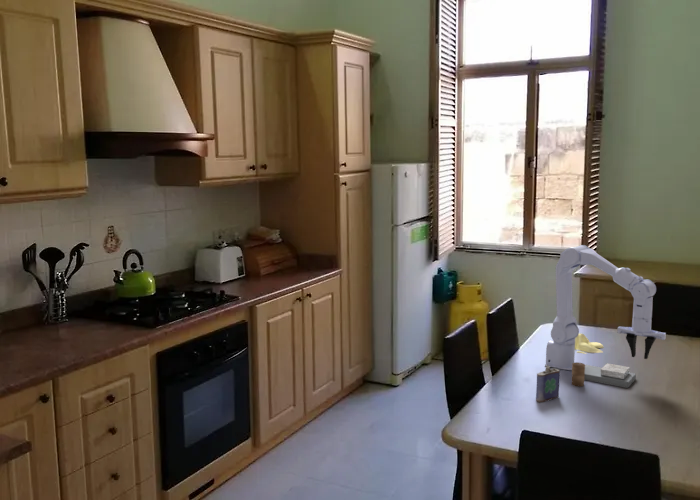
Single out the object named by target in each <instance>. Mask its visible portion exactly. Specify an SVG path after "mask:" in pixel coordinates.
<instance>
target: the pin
mask: <svg viewBox="0 0 700 500" xmlns="http://www.w3.org/2000/svg"><path fill="white" fill-rule="evenodd" d="M585 365H586V364H585V363H583V362H574V363H572V370H571V385H572V386H573V387H579V388H581V387H585V380H584V376H585Z"/></svg>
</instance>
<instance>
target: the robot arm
mask: <svg viewBox="0 0 700 500" xmlns="http://www.w3.org/2000/svg"><path fill="white" fill-rule="evenodd" d="M559 256H560V257H559V259H558V261H557V263H556V265H555V292H556V295H555V296H556V297H555V298H556V301H555V302H556V317H555V318H554V320H553V322H552V327H551V328H552V329H550V338H551V339H550V340H548V341H547V343H546V350H545V364H544V367H547V365H548V366H549V367H550V368H554V369H558V370H560V369H561V370H564V371H565V370H566V371H572V363H575V355H576V354H575V352H576V351H575V338H576V337H577V336H578V334H579V333H580V328H579V326H578V324H577V318H576V317H575V316H574V314H573V313H574V308H573V307H574V306H573V274H572V273H573V272H574V271H575V270H576V269H577V268H578V267H579V266H589V265H591V266H594V267H595V268H597V269H599V270H601V272H604V273H606V274H607V275H609V276H611V277H612V280H613V282H614V283H616V284H617V285H618V286H620V287H622V288H624V289H625V290H626V291H629V292H630V293H631V294H630V295H631V296H632V298H633V307H632V321H631V326H618V327H617V329H616V330H617V332H616V333H617V334H624V335H625V334H626V336H625V340H626V341H627V343H628V345H629V350H630V353H631V358H635V357H636V356H637V355H636V353H637V352H636V351H637V350H636V349H637V346H636V345H637V338H638V336H639V337H643V338H644V337H645V339H644V356H643V358H644V360H648V358H649V354H650V351H651V349H652V347H653V344H654V342H655V341H656V339H658V340H659V339H660V340H661V341H665V340H666V335H667V332H661V331H658V330H653V329H652V322H653V321H652V318H653V303H654V302H653V301H654V300H653V298H654V296H655V294H656V292H657V286H656V284H655V283H654V281H652V280H651V279H645V278H644V277H643V276H641V275H640V276H639V275H637V274H635V273H634V272H632V271H631V270H632V269H631V268H629V267H617V266H616V265H614V264H613V263H612V262H610V261H609V260H607V259H606V258H604V257H603V256H602V255H600V254H598V253H597V252H596V251H595V250H594V249H593V248H590V247H588V246H587V245H585V244H580V245H578V246H573V247H568V248H566V249H564V250H563V251H562V252H560V255H559Z"/></svg>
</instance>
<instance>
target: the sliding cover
mask: <svg viewBox="0 0 700 500" xmlns="http://www.w3.org/2000/svg"><path fill="white" fill-rule="evenodd" d="M630 370H631V368H630V366H625V365H619V364H615V363H613V364H612V363H605V365H603V367H602V368H601V374H600V375H604V376H609V377H614V378H620V379H624V378H625V377H626V376H627V375H628V374H629V372H630ZM630 373H631V372H630Z"/></svg>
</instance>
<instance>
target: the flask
mask: <svg viewBox="0 0 700 500" xmlns="http://www.w3.org/2000/svg"><path fill="white" fill-rule="evenodd" d="M560 378H561V370H560V369H559V368H554V367H552V368H551V367H549V366H548V365H547V366H545V369H544V370H542V371H540V372H537V373H536V392H535V393H536V394H535V402H537V403H544V402H548V400H549V401H551V400H555V399H559V398H558V397H559V392H560V381H561V380H560Z"/></svg>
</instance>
